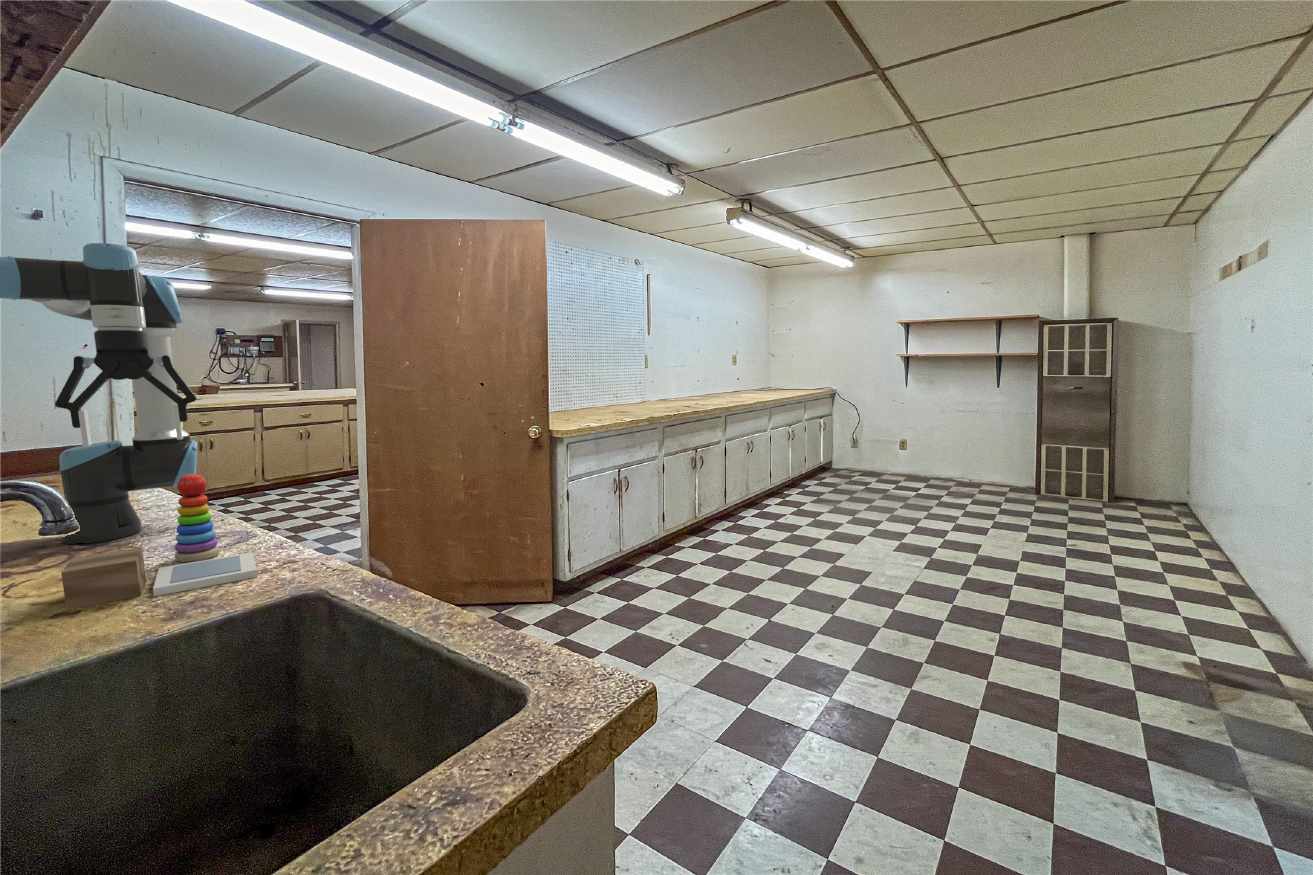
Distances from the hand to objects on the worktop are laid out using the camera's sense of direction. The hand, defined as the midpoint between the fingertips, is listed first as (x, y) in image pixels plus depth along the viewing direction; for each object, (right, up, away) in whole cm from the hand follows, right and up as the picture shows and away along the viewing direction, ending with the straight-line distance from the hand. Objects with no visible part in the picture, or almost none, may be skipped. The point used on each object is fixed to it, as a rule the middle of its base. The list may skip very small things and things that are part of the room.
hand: (135, 442), depth 116 cm
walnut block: (-2, -29, -3) cm, 29 cm away
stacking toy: (-1, -26, +18) cm, 31 cm away
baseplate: (+10, -27, +6) cm, 29 cm away
